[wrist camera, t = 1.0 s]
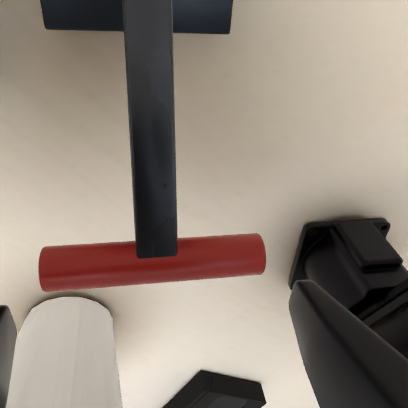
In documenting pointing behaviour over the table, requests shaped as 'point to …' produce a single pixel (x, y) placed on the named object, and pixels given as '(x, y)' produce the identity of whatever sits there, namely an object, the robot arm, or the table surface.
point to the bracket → (113, 15)
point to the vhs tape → (218, 393)
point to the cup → (65, 357)
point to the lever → (150, 184)
